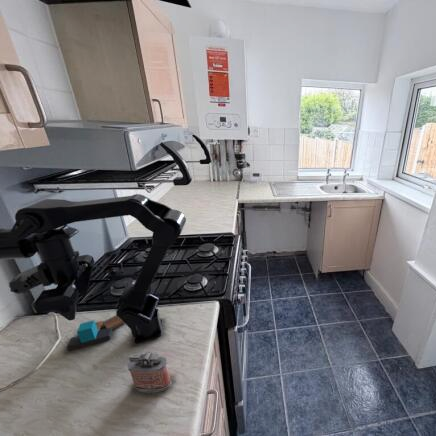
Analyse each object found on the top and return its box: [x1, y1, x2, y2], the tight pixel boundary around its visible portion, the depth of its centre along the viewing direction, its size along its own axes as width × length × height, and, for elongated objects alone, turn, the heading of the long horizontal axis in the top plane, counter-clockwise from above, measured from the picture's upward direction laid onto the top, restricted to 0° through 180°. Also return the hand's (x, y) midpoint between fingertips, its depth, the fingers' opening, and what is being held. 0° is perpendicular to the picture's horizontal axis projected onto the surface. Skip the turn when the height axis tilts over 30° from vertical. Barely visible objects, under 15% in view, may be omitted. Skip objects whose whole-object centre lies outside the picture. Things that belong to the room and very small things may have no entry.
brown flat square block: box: [102, 314, 125, 331], centre depth 69 cm, size 4×4×1 cm
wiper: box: [66, 319, 113, 351], centre depth 63 cm, size 9×3×6 cm, turn 115°
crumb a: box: [95, 321, 104, 331], centre depth 67 cm, size 4×4×1 cm
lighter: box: [126, 351, 172, 393], centre depth 52 cm, size 8×3×10 cm, turn 92°
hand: (78, 306), depth 60 cm, fingers open, 9 cm apart
